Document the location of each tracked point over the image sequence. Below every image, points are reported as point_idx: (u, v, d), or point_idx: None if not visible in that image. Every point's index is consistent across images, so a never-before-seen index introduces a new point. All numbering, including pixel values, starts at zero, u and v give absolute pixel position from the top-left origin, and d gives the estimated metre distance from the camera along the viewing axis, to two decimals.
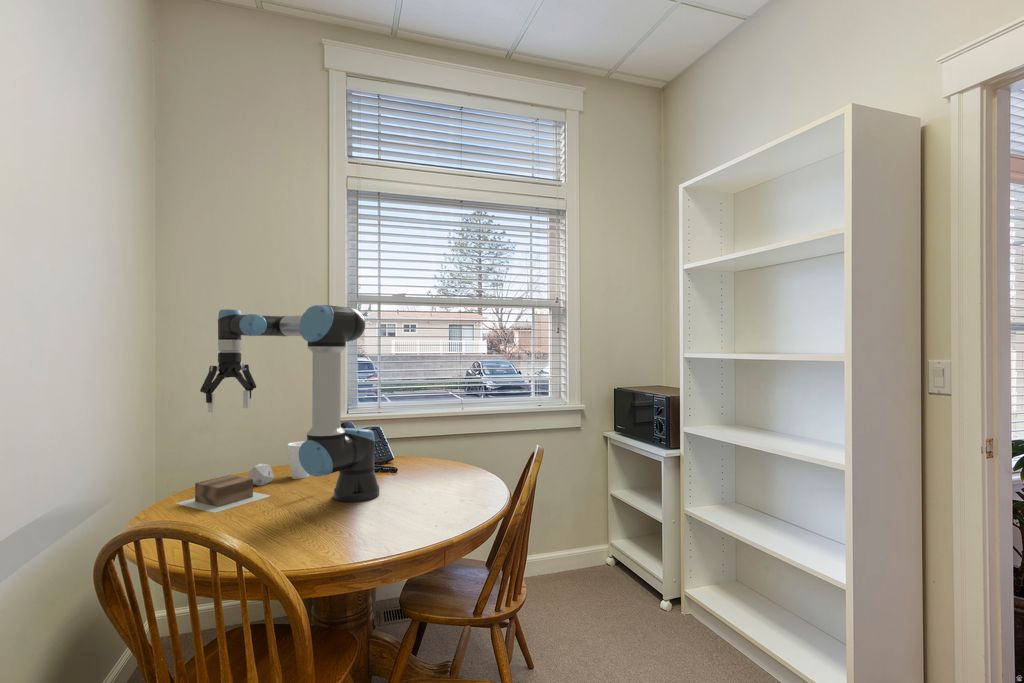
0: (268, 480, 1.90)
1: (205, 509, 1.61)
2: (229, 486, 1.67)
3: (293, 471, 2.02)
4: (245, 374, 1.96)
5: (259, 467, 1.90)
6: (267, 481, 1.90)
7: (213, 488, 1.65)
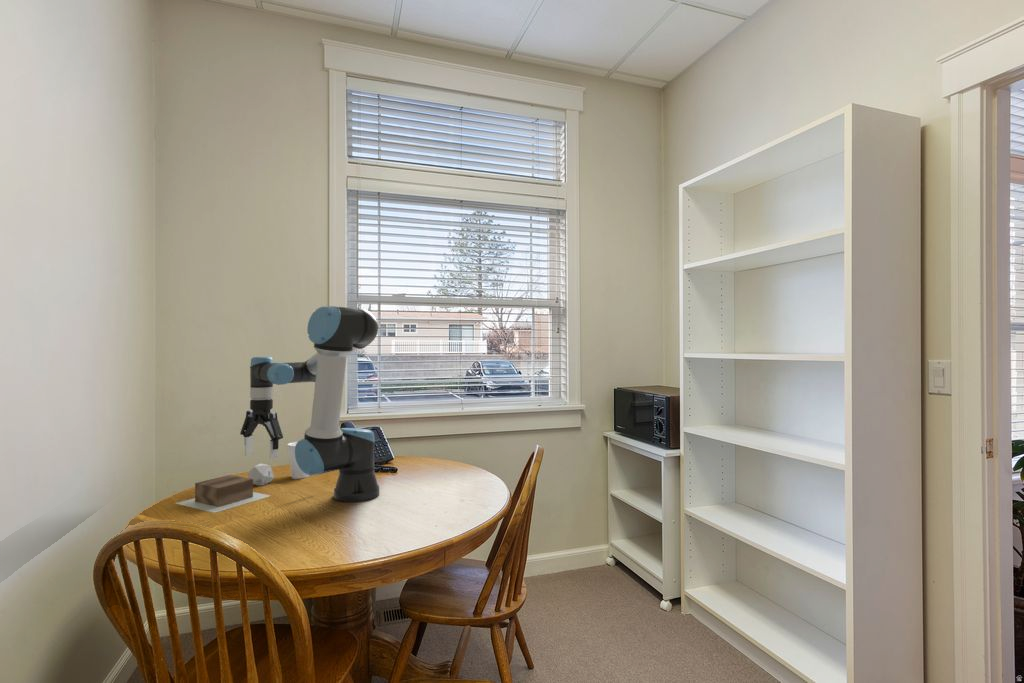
0: (268, 480, 1.90)
1: (205, 509, 1.61)
2: (229, 486, 1.67)
3: (293, 471, 2.02)
4: None
5: (259, 467, 1.90)
6: (267, 481, 1.90)
7: (213, 488, 1.65)
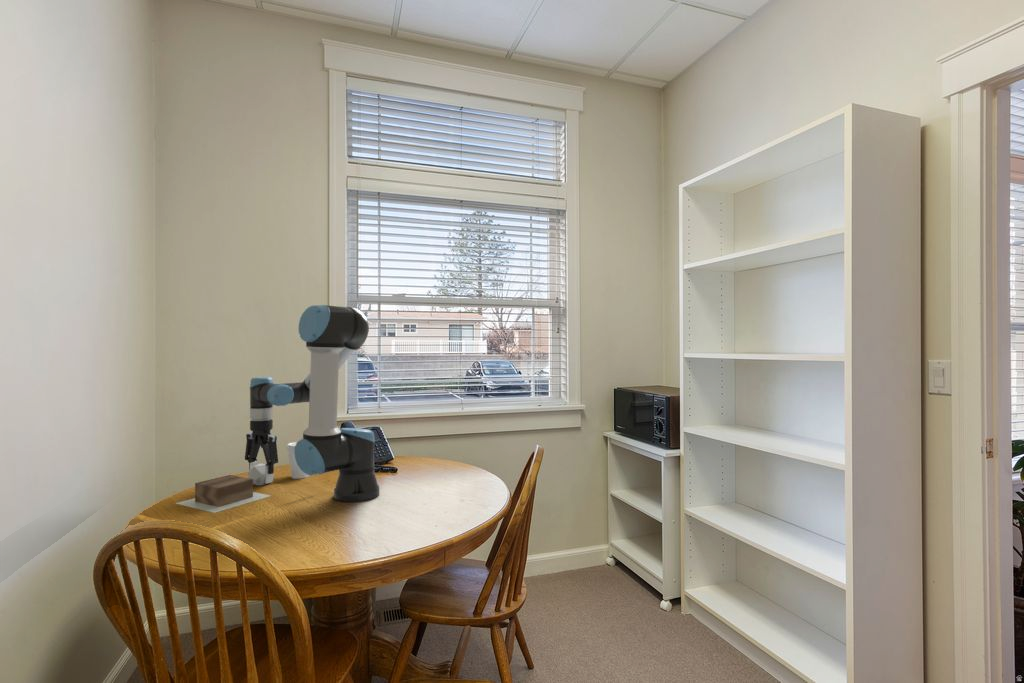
0: None
1: (205, 509, 1.61)
2: (229, 486, 1.67)
3: (293, 471, 2.02)
4: None
5: (259, 467, 1.90)
6: None
7: (213, 488, 1.65)
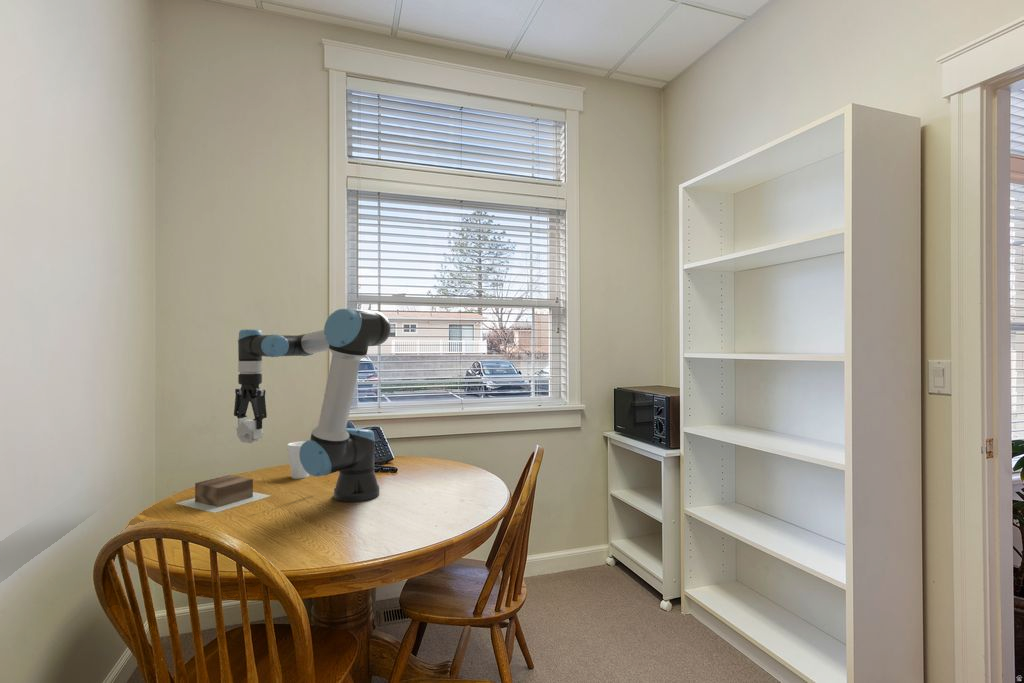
0: None
1: (205, 509, 1.61)
2: (229, 486, 1.67)
3: (293, 471, 2.02)
4: None
5: (247, 422, 1.83)
6: None
7: (213, 488, 1.65)
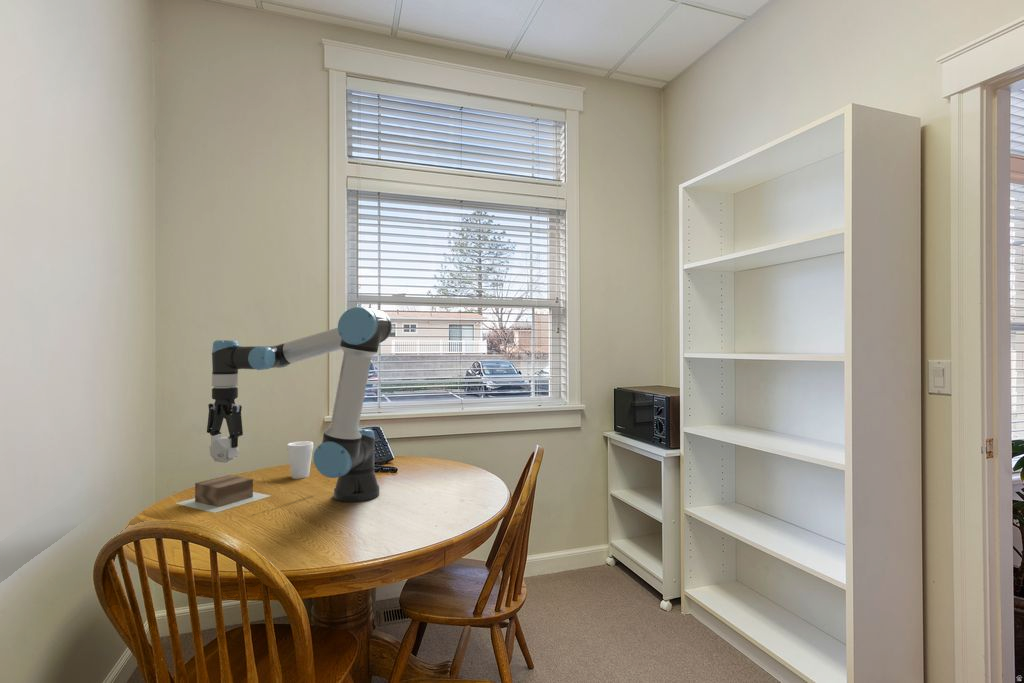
0: None
1: (205, 509, 1.61)
2: (229, 486, 1.67)
3: (293, 471, 2.02)
4: None
5: (221, 440, 1.70)
6: None
7: (213, 488, 1.65)
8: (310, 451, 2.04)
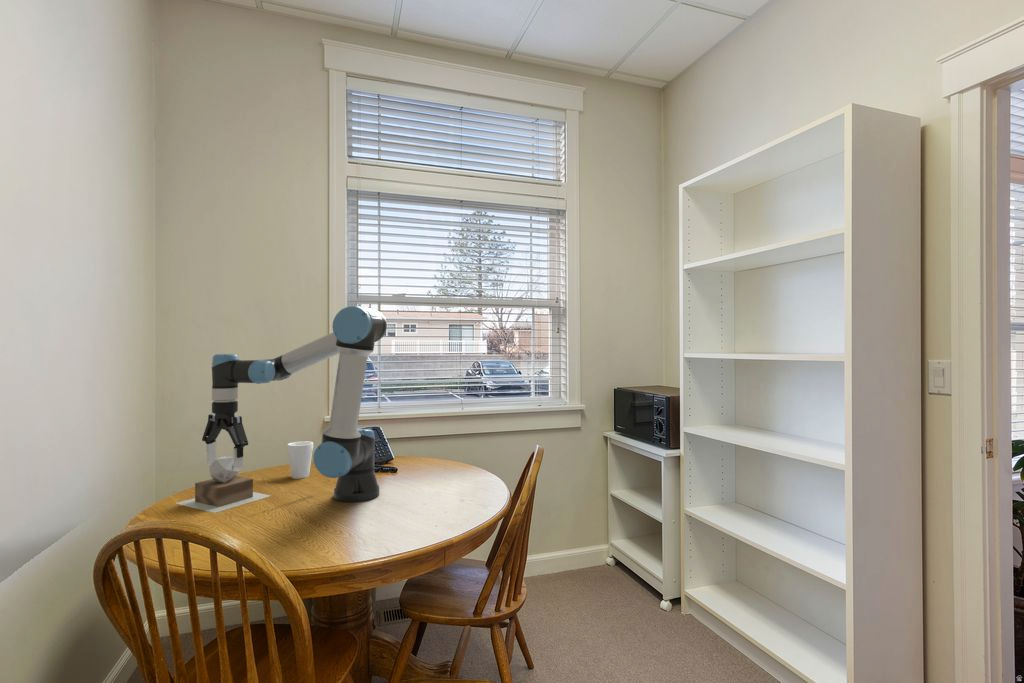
0: (231, 475, 1.71)
1: (205, 509, 1.61)
2: (229, 486, 1.67)
3: (293, 471, 2.02)
4: None
5: (221, 460, 1.70)
6: (230, 476, 1.70)
7: (213, 488, 1.65)
8: (310, 451, 2.04)
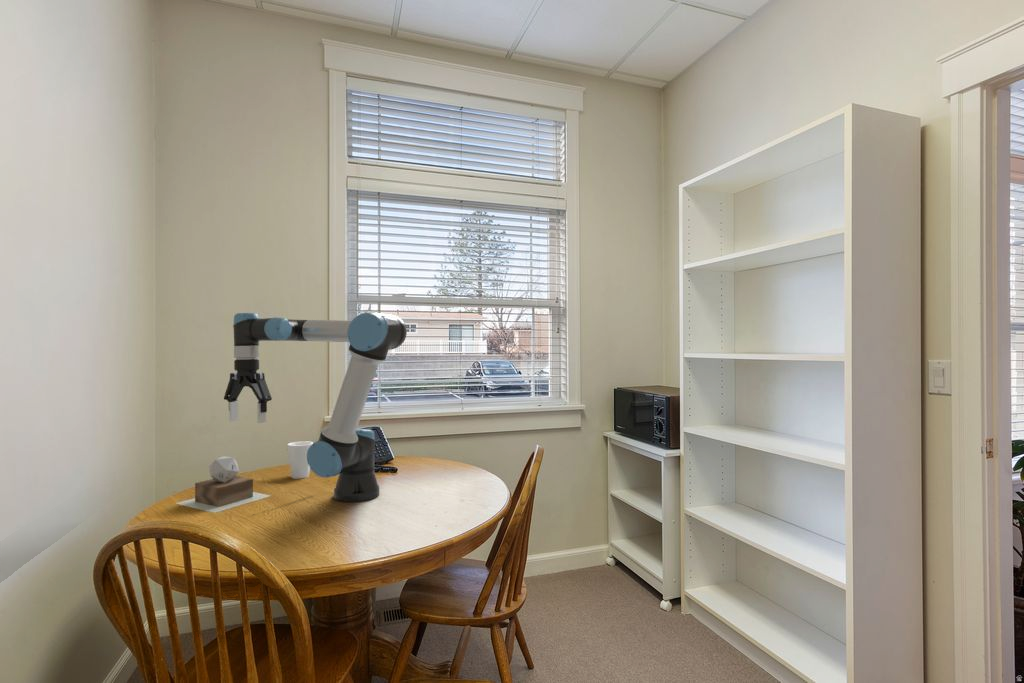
0: (231, 475, 1.71)
1: (205, 509, 1.61)
2: (229, 486, 1.67)
3: (293, 471, 2.02)
4: None
5: (221, 460, 1.70)
6: (230, 476, 1.70)
7: (213, 488, 1.65)
8: None
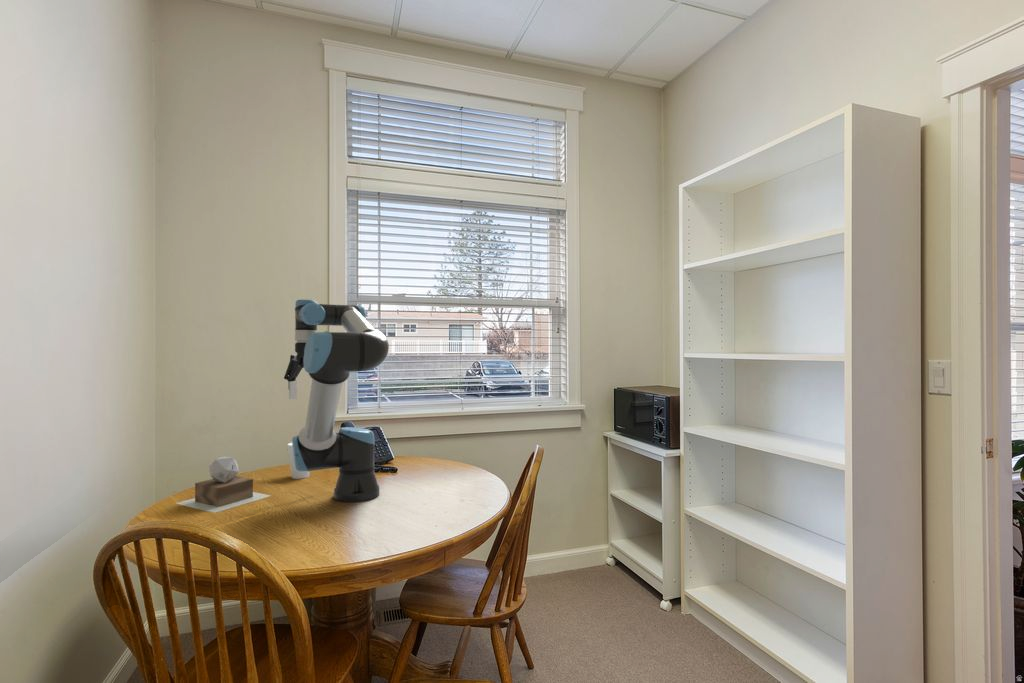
0: (231, 475, 1.71)
1: (205, 509, 1.61)
2: (229, 486, 1.67)
3: (293, 471, 2.02)
4: None
5: (221, 460, 1.70)
6: (230, 476, 1.70)
7: (213, 488, 1.65)
8: None
